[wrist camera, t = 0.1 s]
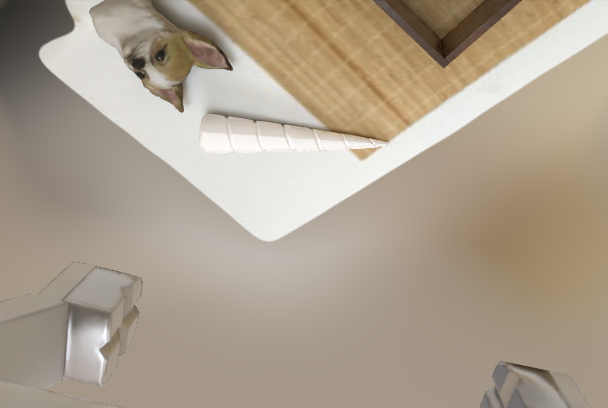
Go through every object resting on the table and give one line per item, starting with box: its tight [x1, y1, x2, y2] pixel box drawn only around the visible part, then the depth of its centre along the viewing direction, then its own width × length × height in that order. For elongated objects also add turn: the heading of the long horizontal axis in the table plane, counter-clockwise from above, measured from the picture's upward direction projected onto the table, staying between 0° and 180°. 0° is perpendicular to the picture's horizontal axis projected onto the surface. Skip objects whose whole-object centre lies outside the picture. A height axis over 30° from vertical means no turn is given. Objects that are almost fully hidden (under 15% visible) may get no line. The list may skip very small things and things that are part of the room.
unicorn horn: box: [200, 114, 389, 153], centre depth 68 cm, size 5×24×5 cm, turn 85°
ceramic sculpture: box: [89, 0, 233, 112], centre depth 61 cm, size 11×9×15 cm
